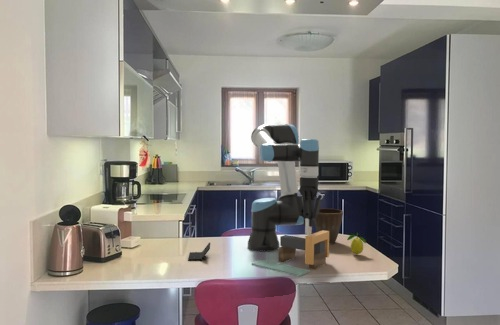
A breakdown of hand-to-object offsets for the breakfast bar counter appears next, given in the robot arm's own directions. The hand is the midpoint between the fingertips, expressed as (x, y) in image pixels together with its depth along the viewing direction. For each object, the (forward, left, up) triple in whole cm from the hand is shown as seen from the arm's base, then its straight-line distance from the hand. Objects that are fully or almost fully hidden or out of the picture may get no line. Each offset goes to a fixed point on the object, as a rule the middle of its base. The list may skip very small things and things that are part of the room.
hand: (308, 233), depth 165 cm
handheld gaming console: (-42, -21, -13) cm, 49 cm away
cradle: (-3, 0, -13) cm, 13 cm away
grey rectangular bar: (-3, 0, -7) cm, 7 cm away
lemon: (+10, +26, -13) cm, 31 cm away
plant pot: (-11, +39, -13) cm, 43 cm away
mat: (-6, -12, -13) cm, 18 cm away
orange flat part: (+4, 0, -10) cm, 11 cm away
